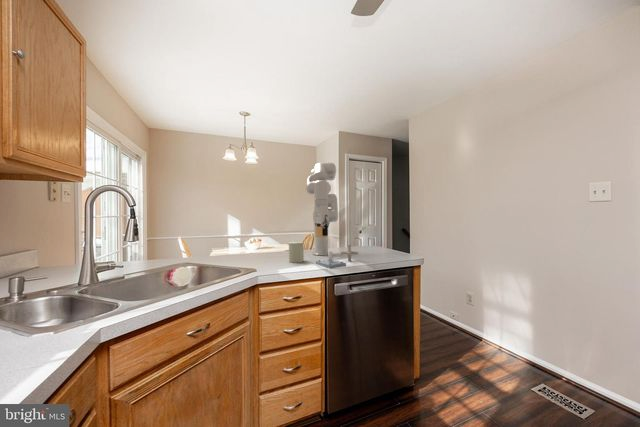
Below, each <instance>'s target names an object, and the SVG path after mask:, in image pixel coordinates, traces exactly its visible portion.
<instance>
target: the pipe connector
mask: <svg viewBox="0 0 640 427" xmlns="http://www.w3.org/2000/svg"><path fill="white" fill-rule="evenodd" d="M340 255H347V261H348V262H352V255H359V251H356V250H354V251H353V250H352V245H351V244H347V250H340Z"/></svg>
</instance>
